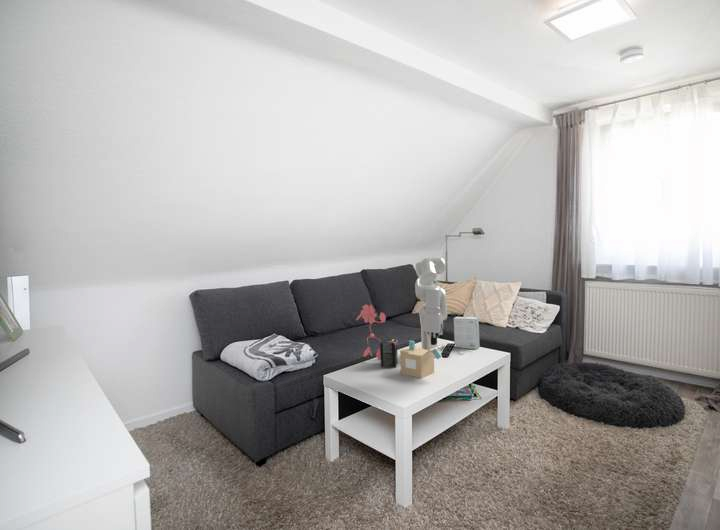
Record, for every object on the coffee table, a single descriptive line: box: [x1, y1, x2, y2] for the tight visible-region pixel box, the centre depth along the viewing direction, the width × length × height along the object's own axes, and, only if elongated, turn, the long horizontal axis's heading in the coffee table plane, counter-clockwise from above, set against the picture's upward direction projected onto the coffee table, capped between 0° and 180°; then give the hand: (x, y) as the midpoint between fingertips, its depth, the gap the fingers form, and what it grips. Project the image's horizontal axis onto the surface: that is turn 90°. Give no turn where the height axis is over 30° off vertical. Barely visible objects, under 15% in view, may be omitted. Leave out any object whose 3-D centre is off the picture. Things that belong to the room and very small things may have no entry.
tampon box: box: [379, 338, 399, 368], centre depth 245 cm, size 11×9×15 cm
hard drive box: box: [453, 316, 481, 350], centre depth 278 cm, size 16×8×20 cm, turn 60°
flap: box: [423, 345, 443, 360], centre depth 219 cm, size 11×6×5 cm
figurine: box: [355, 303, 387, 364], centre depth 256 cm, size 15×26×35 cm, turn 46°
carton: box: [399, 340, 435, 379], centre depth 228 cm, size 12×15×17 cm
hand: (434, 344), depth 220 cm, fingers closed
